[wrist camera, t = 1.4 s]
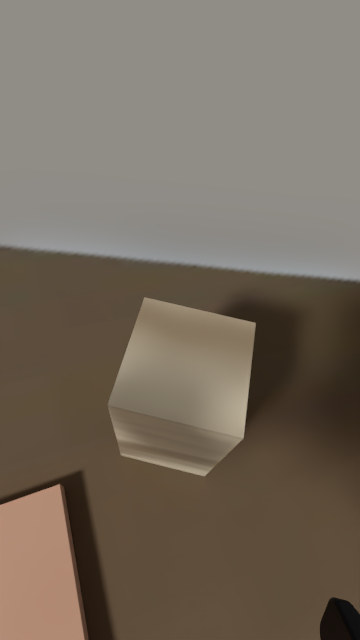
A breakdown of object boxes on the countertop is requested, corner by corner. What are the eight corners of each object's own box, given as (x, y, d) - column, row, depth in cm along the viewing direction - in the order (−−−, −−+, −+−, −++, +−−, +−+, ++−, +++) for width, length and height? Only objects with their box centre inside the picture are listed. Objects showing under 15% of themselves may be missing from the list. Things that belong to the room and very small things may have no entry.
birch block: (204, 476, 22) (243, 438, 13) (121, 455, 22) (107, 405, 13) (217, 395, 24) (255, 323, 16) (143, 378, 25) (144, 297, 16)
